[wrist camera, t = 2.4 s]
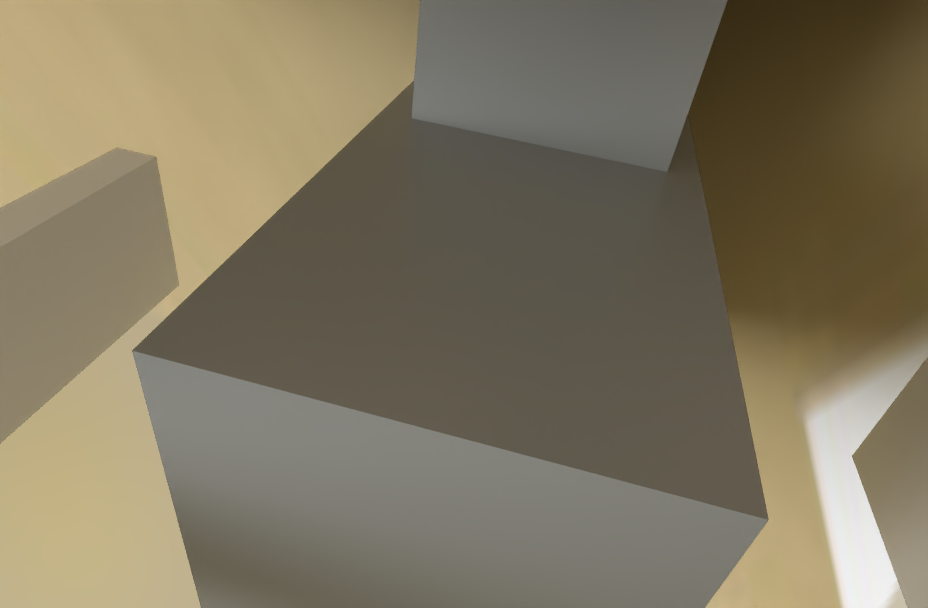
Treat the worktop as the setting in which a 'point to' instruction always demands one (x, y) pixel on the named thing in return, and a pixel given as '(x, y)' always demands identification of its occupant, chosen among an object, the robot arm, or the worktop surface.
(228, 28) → the worktop surface
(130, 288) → the robot arm
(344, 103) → the worktop surface
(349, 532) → the block
